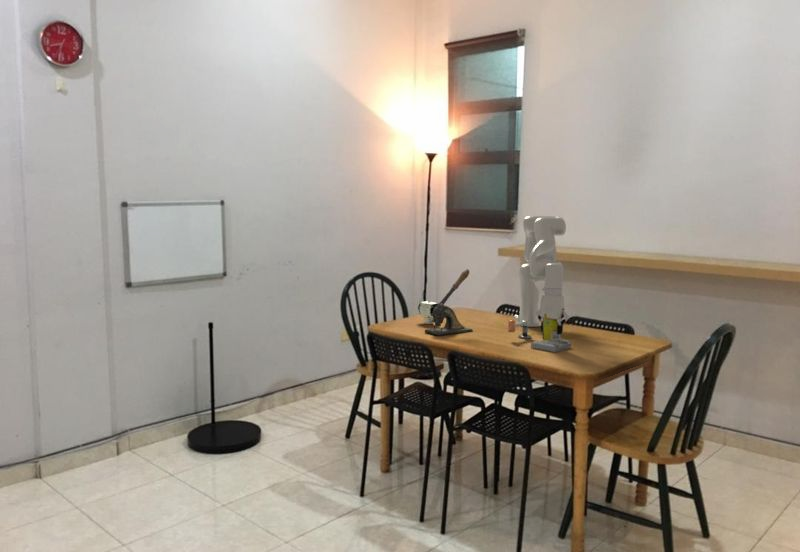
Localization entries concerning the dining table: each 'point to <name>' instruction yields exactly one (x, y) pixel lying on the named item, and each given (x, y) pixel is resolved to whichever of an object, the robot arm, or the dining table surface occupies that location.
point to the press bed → (551, 345)
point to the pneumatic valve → (427, 310)
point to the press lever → (517, 324)
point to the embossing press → (448, 314)
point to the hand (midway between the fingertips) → (551, 332)
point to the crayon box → (550, 329)
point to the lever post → (524, 333)
